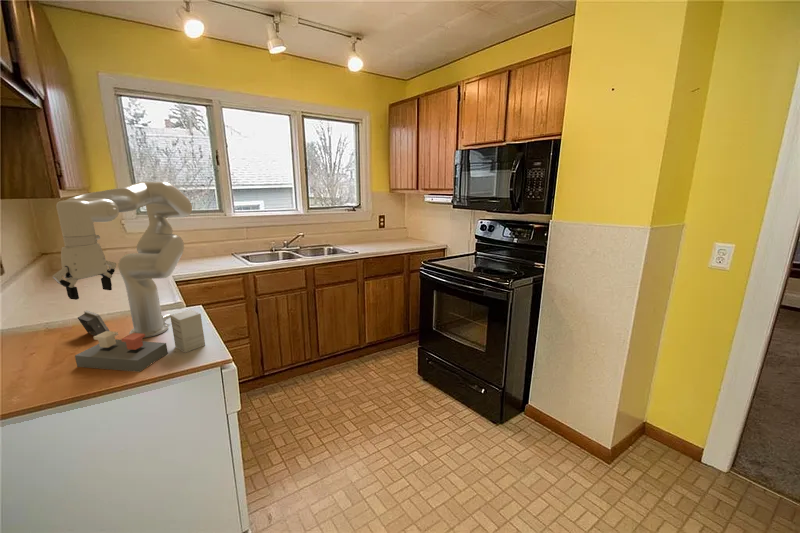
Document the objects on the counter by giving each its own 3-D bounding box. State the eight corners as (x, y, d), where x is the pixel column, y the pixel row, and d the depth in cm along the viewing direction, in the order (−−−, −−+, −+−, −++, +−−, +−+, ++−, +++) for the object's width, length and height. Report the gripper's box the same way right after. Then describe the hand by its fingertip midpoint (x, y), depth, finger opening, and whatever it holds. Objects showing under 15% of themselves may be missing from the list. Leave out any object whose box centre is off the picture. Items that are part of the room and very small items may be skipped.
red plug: (134, 343, 119) (132, 332, 118) (146, 344, 118) (144, 333, 117) (123, 350, 114) (121, 338, 113) (135, 350, 114) (133, 339, 113)
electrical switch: (111, 333, 137) (104, 312, 134) (96, 340, 132) (88, 318, 129) (98, 329, 141) (90, 308, 138) (82, 335, 136) (74, 314, 133)
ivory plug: (108, 341, 120) (105, 331, 119) (119, 342, 119) (117, 331, 118) (95, 347, 115) (93, 336, 114) (108, 348, 115) (105, 337, 114)
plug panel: (110, 349, 125) (108, 338, 124) (167, 353, 123) (166, 342, 122) (77, 366, 113) (74, 355, 112) (139, 371, 111) (137, 360, 110)
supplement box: (195, 339, 133) (191, 308, 130) (205, 345, 129) (201, 313, 126) (174, 347, 127) (169, 314, 124) (184, 353, 123) (179, 319, 120)
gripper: (101, 236, 117) (111, 285, 121) (37, 245, 100) (50, 301, 105) (118, 237, 115) (127, 287, 119) (55, 246, 99) (68, 304, 103)
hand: (91, 294), depth 112 cm, fingers open, 9 cm apart
